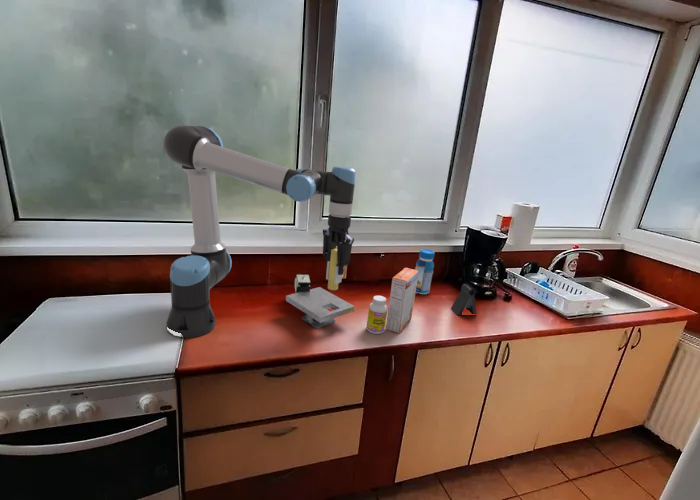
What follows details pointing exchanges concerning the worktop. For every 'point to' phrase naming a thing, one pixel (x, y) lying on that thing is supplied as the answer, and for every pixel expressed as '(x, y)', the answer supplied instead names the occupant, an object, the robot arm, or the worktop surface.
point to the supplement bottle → (377, 315)
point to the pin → (332, 270)
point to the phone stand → (465, 300)
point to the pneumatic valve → (302, 283)
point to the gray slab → (319, 306)
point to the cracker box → (401, 299)
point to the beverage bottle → (424, 271)
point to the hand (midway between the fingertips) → (333, 280)
